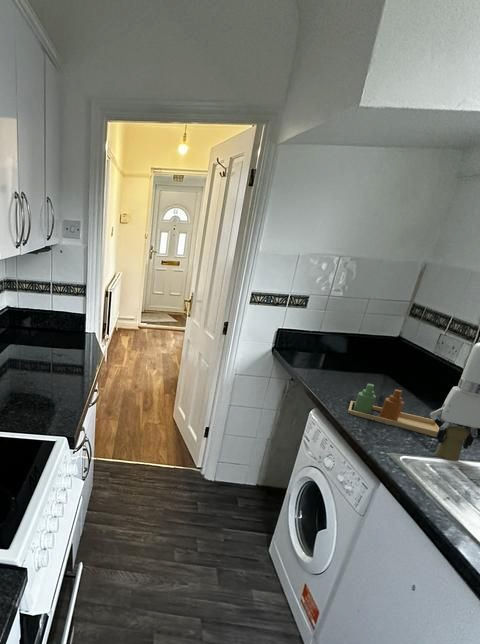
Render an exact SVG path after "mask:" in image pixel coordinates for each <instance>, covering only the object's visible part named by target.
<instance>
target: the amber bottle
mask: <svg viewBox="0 0 480 644" xmlns="http://www.w3.org/2000/svg"><path fill="white" fill-rule="evenodd" d="M402 393H403V390H401V389H394V391H393V394H390V395H389V397H385V399H384V402H383V404H382V406H381V408H382V410H381V412H380V413H379V414H378V415H379V416H378V417H382V418H386V419H390V420H394V421H397V420H398V417H399V415H400V412H402V410H403V407H404V404H405V402H404V401H403V397H402Z"/></svg>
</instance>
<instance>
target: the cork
mask: <svg viewBox="0 0 480 644" xmlns="http://www.w3.org/2000/svg"><path fill="white" fill-rule="evenodd" d="M468 433H469V430H468V429H466V428H465V427H462V426H460V425H459V426H458V425H448V426H447V427H446V434H445V436H444V438H443V441H442V443H439V446H438V447H437V449H436V450H435V452H434V453H433V456H437V457H439V458H443V459H446V460H448V461H454V462H455V461H456V462H459V460H460V456H461V453H462V452H461V451H462V448H463V442H464V440H465V439H466V438H467V437H468Z"/></svg>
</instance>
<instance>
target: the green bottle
mask: <svg viewBox="0 0 480 644" xmlns="http://www.w3.org/2000/svg"><path fill="white" fill-rule="evenodd" d="M374 387H375V384H373V383H367V384H366V388H364V389H362V391H358V393H357V398H356V400H355V402H356V403H355V405H354V406H353V409H352V410H353V411H357V412H361V413H365V414H369V415H371V413H372V411H373V409H372V407H373V406H374V405H375V401H376V399H377V396H376V395H375V391H374Z"/></svg>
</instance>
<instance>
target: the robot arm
mask: <svg viewBox="0 0 480 644" xmlns="http://www.w3.org/2000/svg"><path fill="white" fill-rule="evenodd" d="M460 376H461V377H460V378H459V381H458V384H457V385H456V386H453V387H452V388H451V389H450V391H449V393H448V394H447V396H446V398H445V400H444V402H443V404H442V406H441V407H440V408H438V409H437V410H434V411H431V412H430V413H429V418H430V419H432V420H433V421H434V422H435V423H436V424H437V426H438V427H439V430H438V433H437V436H436V437H435V438H436V439H437V442H438V443H439V444H441V443H442V441H443V439H444V437H445V436H446V435H445V434H446V428H447V427H449V426H450V425H451V424H454V425H455V424H456V425H459V426H464V427H469V431H468V437H467V438H466V439H465V440H463V444H462V448H463V449H465V450H467V449H468V448H469V447H472V445H473V442H474V440H475V439H476V438H477V437H479V436H480V342H476V343H475V344H474V345H473V347H472V348H471V352H470V354H469V356H468V359H467V362H466V364H465V366H464V369H463V371H462V374H461V375H460ZM438 416H440V418H439V417H438Z"/></svg>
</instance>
